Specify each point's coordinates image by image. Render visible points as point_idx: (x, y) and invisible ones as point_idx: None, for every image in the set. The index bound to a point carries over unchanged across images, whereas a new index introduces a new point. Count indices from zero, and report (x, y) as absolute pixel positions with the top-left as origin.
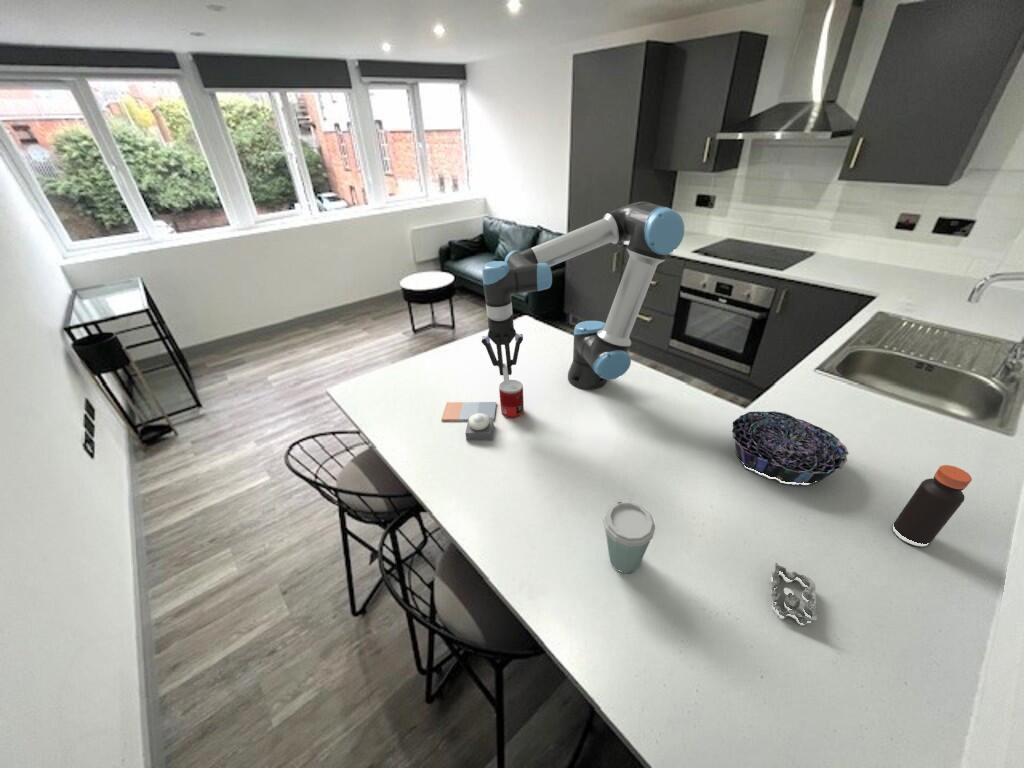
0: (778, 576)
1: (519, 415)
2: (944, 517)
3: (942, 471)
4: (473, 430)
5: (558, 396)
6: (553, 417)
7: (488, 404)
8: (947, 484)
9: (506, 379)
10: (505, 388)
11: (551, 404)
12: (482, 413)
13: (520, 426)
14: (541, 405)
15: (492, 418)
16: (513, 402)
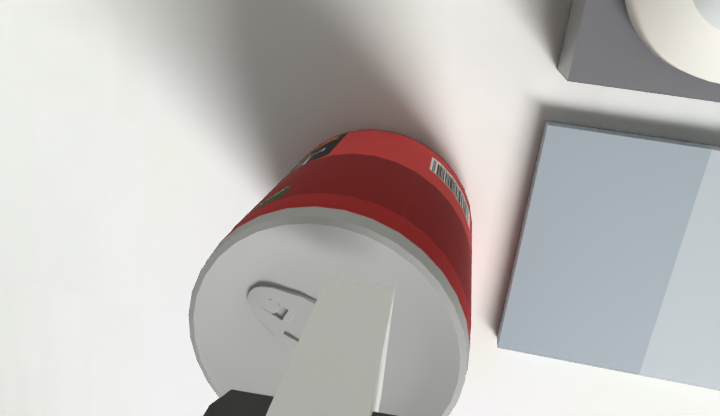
0: None
1: (325, 142)
2: None
3: None
4: None
5: (48, 325)
6: (77, 91)
7: (567, 328)
8: None
9: (337, 331)
10: (394, 316)
11: (92, 247)
12: (695, 75)
13: (329, 11)
14: (161, 250)
15: (573, 64)
16: (338, 168)
